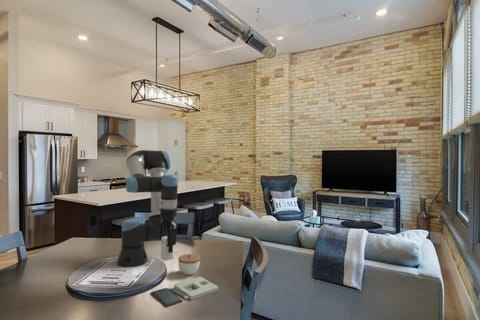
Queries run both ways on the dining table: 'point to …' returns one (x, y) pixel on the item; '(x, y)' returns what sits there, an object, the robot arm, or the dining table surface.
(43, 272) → the dining table surface
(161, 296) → the phone
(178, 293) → the grey pen
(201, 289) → the outlet plate
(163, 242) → the block
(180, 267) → the lidded jar
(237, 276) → the dining table surface
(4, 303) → the dining table surface
